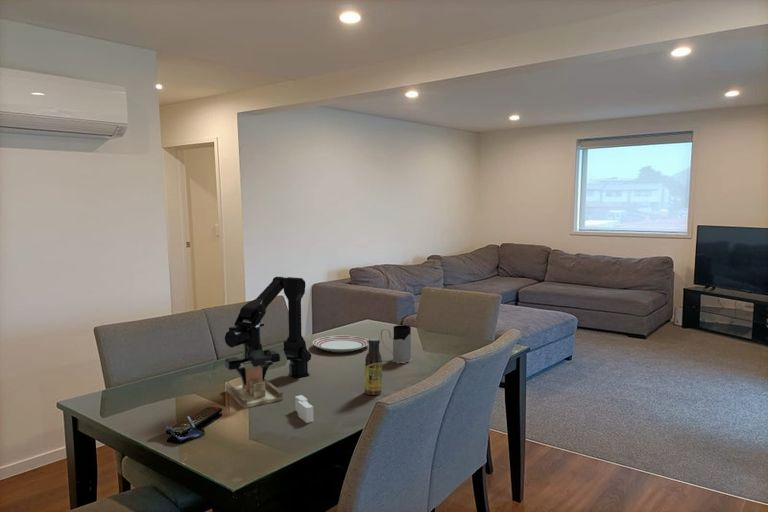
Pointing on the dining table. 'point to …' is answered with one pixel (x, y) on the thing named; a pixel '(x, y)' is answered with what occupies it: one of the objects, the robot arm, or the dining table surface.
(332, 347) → the dinner plate
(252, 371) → the pink clay brick
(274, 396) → the dish rack
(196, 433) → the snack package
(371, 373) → the sauce bottle
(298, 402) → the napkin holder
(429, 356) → the dining table surface
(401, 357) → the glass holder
